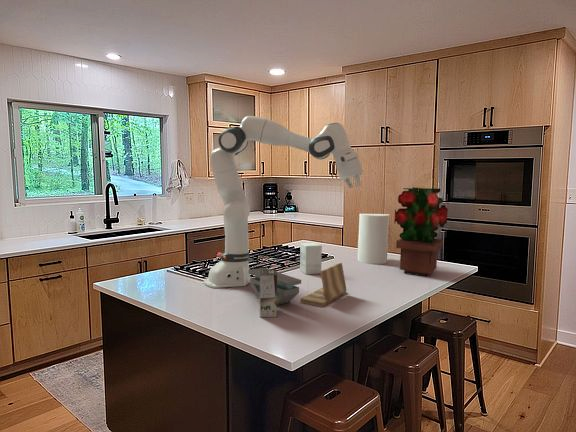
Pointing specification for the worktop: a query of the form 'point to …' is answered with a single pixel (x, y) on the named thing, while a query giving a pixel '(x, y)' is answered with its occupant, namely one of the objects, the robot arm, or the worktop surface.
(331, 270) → the plank
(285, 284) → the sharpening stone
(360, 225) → the cylinder
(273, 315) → the coffee box
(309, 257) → the supplement box
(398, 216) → the potted plant
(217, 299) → the worktop surface
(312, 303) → the light brown rectangular block
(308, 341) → the worktop surface
